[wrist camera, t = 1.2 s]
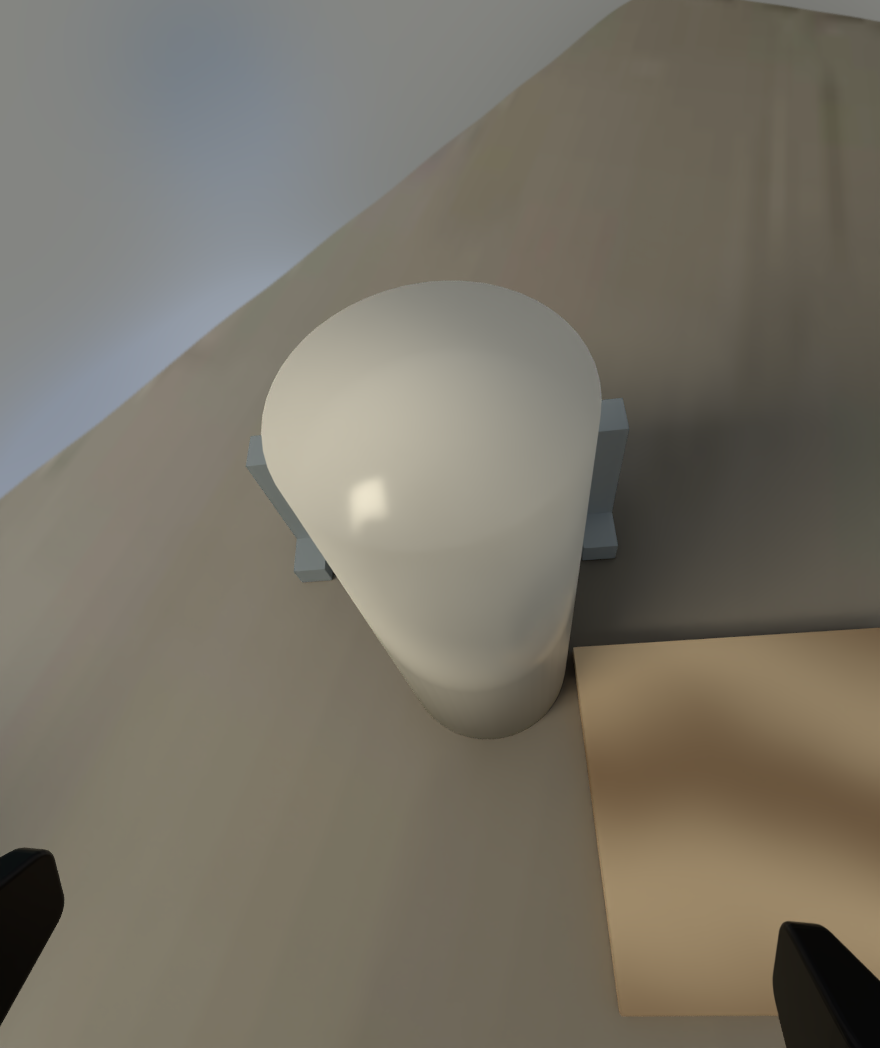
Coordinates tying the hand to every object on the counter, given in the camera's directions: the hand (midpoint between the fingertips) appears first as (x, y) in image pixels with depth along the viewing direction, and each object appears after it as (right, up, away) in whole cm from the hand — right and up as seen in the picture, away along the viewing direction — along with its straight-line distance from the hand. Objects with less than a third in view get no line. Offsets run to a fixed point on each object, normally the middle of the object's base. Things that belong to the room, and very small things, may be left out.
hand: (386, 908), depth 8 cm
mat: (+10, -4, +11) cm, 16 cm away
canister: (+2, 0, +15) cm, 15 cm away
